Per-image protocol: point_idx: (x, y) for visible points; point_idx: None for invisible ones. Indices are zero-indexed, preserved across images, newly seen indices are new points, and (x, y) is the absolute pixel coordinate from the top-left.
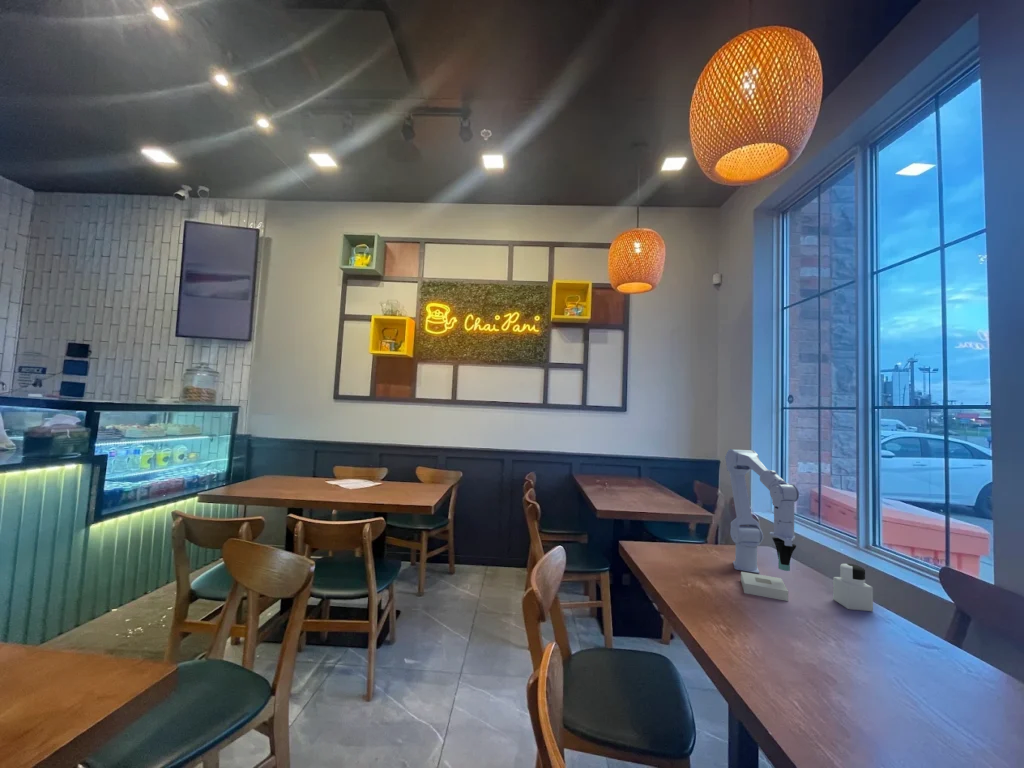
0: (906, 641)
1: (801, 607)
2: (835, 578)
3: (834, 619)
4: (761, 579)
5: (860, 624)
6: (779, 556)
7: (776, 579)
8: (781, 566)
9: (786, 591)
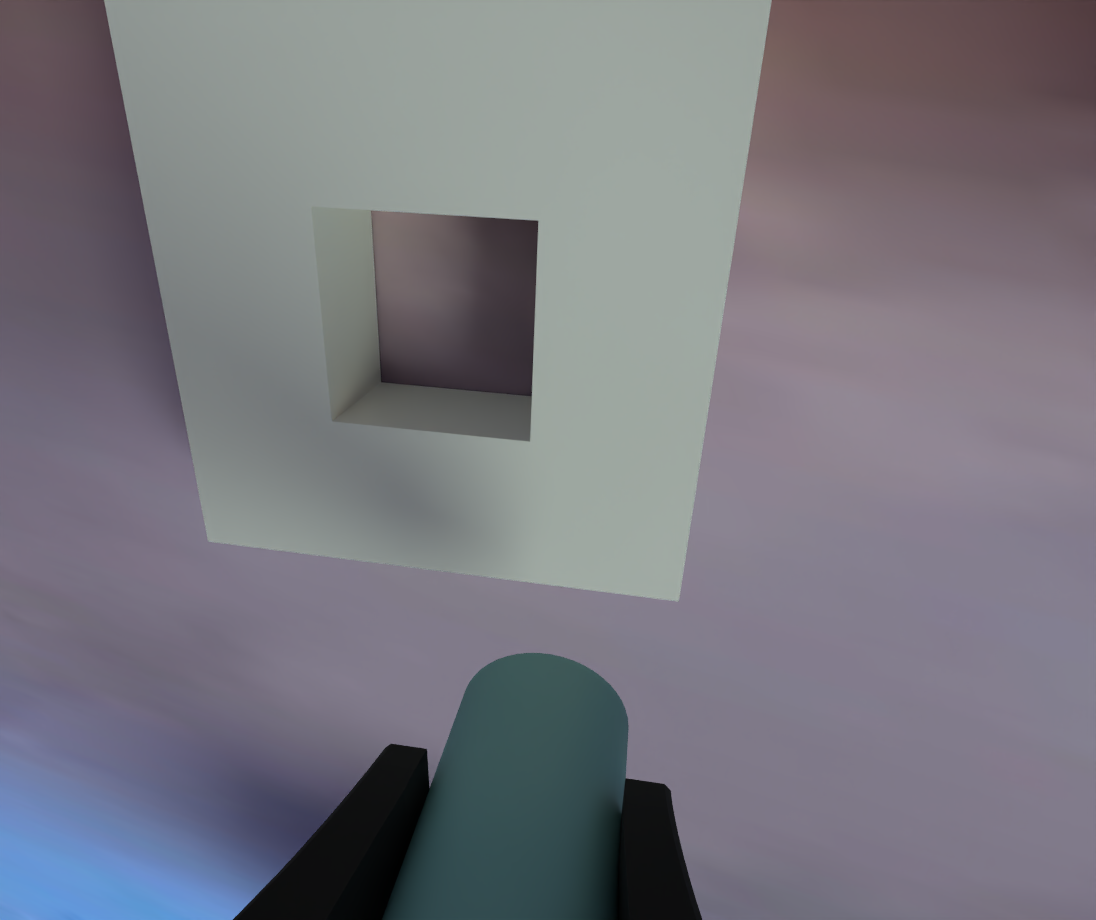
0: (64, 907)
1: (189, 556)
2: None
3: (108, 700)
4: (539, 323)
5: (141, 811)
6: (450, 862)
7: (592, 527)
8: (461, 713)
9: (208, 521)
